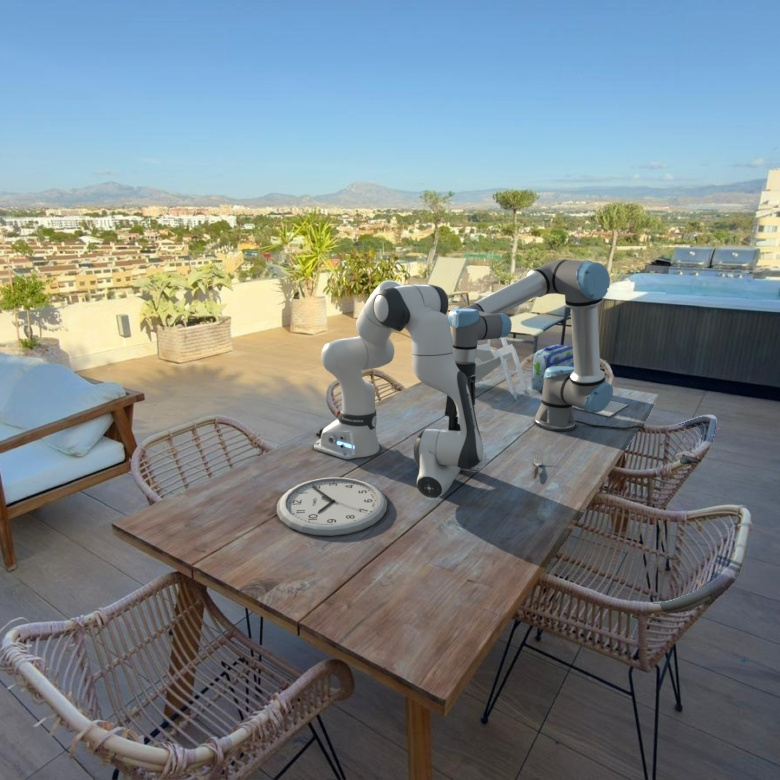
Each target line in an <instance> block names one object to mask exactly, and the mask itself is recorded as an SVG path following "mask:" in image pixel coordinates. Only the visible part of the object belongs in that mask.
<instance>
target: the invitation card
mask: <svg viewBox="0 0 780 780" xmlns="http://www.w3.org/2000/svg"><path fill="white" fill-rule="evenodd" d="M628 406H629V404H627V403H623V402H618V401H614V400H611V401H610V402H609V404H608V405H607V407H606V408H605V409H603V410H602V411H600V412H597V413H595V414H596V415H600V416H604V417H608V418H609V417H611V416H613V415H614V414H616V413H617V412H619V411H621V410H623V409H624V408H626V407H628ZM573 409H575V410H581V411H584V412H586V411H585V410H584V409H581V408H578V407H575V406H573ZM587 413H590V412H589V411H587ZM591 413H593V412H591ZM593 414H594V413H593Z"/></svg>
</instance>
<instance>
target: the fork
mask: <svg viewBox="0 0 780 780" xmlns="http://www.w3.org/2000/svg"><path fill="white" fill-rule="evenodd" d="M537 456H539V457H537ZM543 460H544V455H542V454H540V455H539V454H537V455H535V458H534V461H533V464H534V465H535V466H536V467H535V468H534V470H533V471H534V472H533V474H534V475H533V477H534V478H533V479H534V480H536V478H537V475H538V473H539V466H542V465H543Z"/></svg>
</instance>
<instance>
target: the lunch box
mask: <svg viewBox="0 0 780 780" xmlns="http://www.w3.org/2000/svg"><path fill="white" fill-rule="evenodd" d="M555 366H569V367H574V357H573V346H569V345H565V344H554V345H550V346H547V347H544V348H542V349H541V348H540V349H539V350H537V351H536V352H535V353H534V356H533V360H532V367H531V368H532V369H531V382H530V383H531V386H530V387H531V389H532V390H533V391H537V392H542V390H543V380H544V379H543V378H544V374H545V370H546V369H547V368H549V367H555Z"/></svg>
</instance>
